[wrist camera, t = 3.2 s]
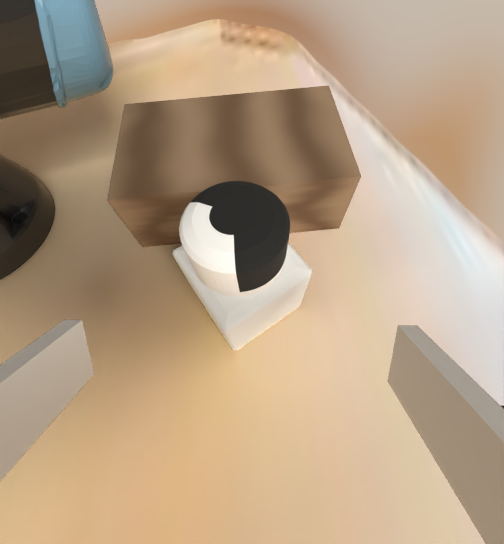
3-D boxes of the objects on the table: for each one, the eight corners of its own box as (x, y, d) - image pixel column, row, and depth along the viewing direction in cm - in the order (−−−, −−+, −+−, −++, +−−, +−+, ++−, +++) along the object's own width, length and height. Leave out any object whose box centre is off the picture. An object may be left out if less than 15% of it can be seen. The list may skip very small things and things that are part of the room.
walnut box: (142, 247, 28) (107, 200, 22) (151, 161, 33) (124, 104, 27) (339, 228, 28) (361, 176, 22) (316, 146, 33) (328, 85, 27)
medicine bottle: (255, 250, 27) (250, 147, 16) (301, 305, 24) (332, 226, 14) (192, 289, 26) (141, 203, 15) (234, 353, 23) (209, 306, 12)
